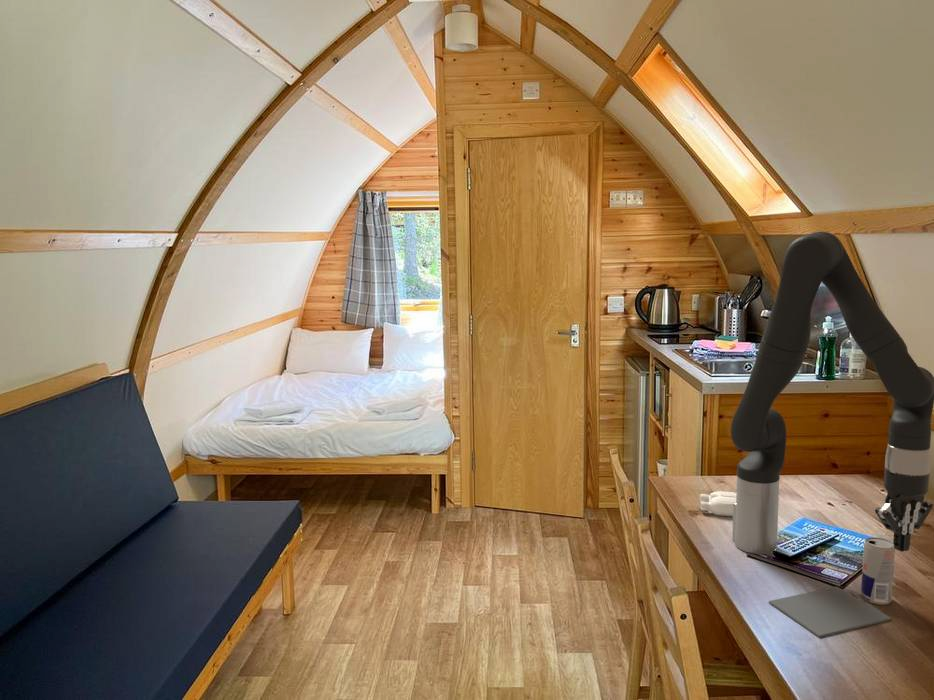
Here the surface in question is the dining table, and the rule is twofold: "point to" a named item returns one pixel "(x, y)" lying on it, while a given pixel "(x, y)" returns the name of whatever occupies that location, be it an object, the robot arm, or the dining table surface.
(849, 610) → the rubber mat
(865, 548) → the energy drink
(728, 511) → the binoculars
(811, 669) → the dining table surface
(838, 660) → the dining table surface
